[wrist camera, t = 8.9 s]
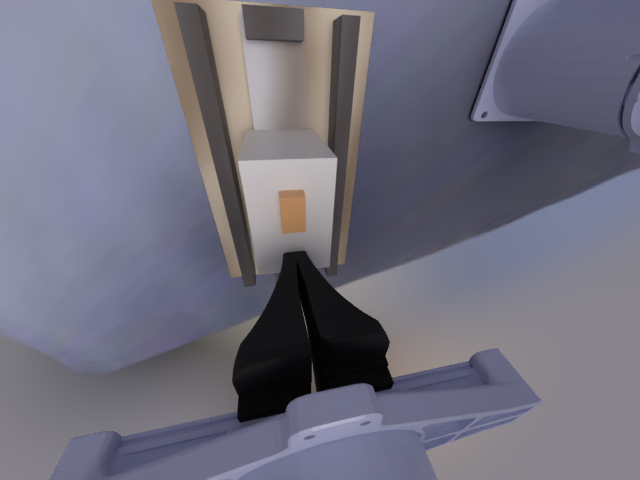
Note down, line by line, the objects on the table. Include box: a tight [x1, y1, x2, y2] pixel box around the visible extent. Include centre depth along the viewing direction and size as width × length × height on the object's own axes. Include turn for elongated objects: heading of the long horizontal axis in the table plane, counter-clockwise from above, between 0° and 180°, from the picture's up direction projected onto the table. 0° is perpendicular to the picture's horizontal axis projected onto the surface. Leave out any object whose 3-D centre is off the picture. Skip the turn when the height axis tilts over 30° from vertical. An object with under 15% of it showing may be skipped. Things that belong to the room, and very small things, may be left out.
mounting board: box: [151, 0, 375, 287], centre depth 18 cm, size 12×20×3 cm, turn 179°
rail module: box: [238, 129, 337, 275], centre depth 15 cm, size 4×7×7 cm, turn 179°
